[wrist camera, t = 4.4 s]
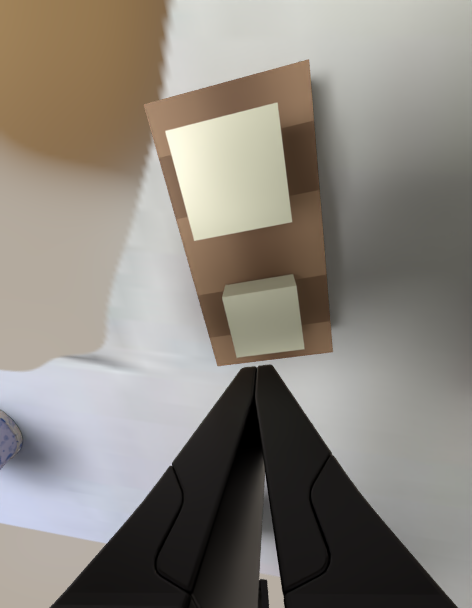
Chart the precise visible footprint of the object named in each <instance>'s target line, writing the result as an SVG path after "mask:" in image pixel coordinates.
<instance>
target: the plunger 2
mask: <svg viewBox="0 0 472 608" xmlns="http://www.w3.org/2000/svg"><path fill="white" fill-rule="evenodd" d="M222 300H223V304H224V308H225V312H226V316H227V320H228V324H229V328H230V332H231V336H232V340H233V344H234V348H235V353H236V357H237V358H238V357H246V356H254V355H262V354H270V353H278V352H286V351H294V350H302V349H304V341H303V333H302V325H301V317H300V310H299V302H298V294H297V286H296V283H295V279H294V276H293V274H290V275H284V276H278V277H272V278H266V279H260V280H254V281H248V282H242V283H236V284H230V285H225V288H224V292H223V296H222Z"/></svg>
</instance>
